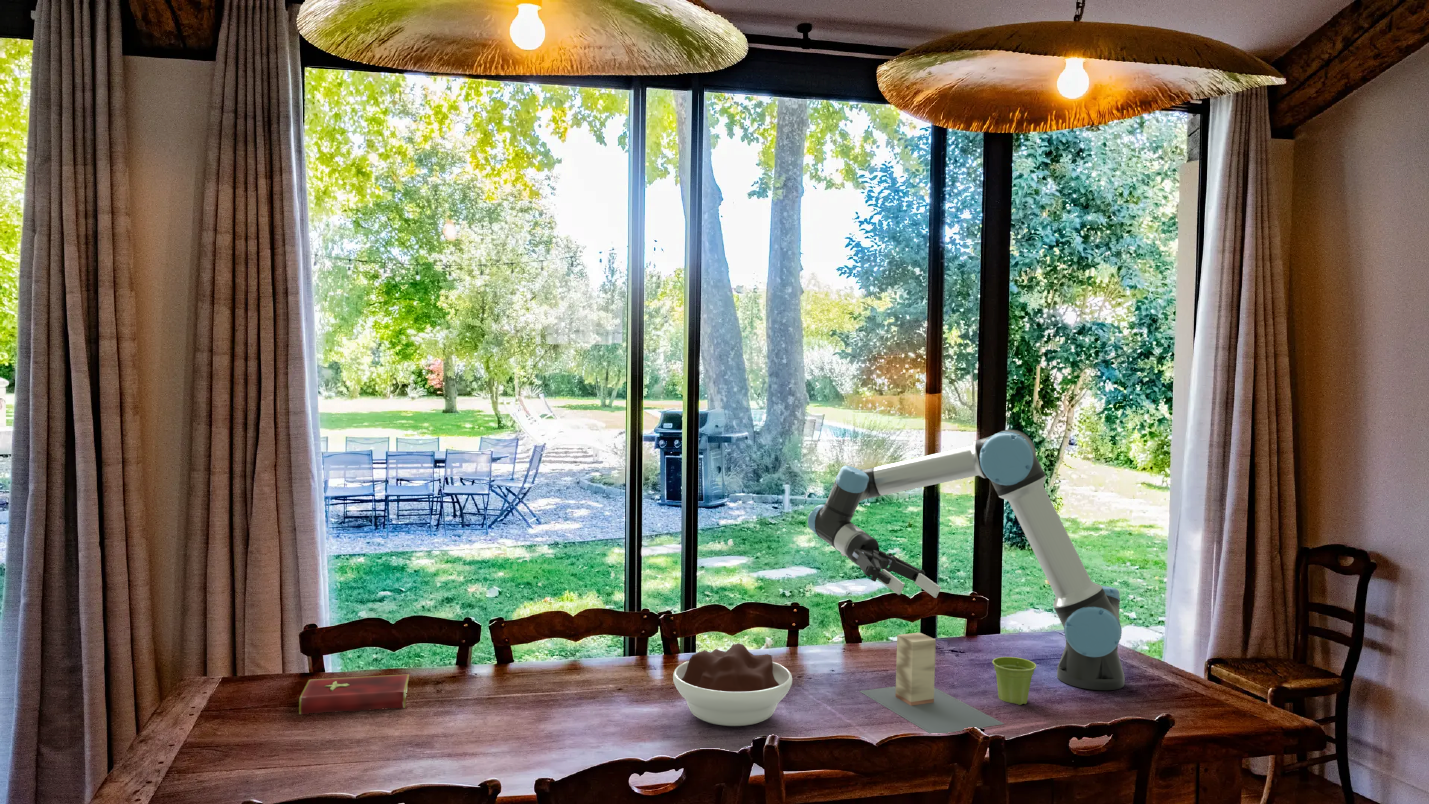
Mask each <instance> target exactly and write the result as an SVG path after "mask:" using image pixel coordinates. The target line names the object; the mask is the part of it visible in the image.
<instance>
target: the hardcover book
mask: <svg viewBox="0 0 1429 804" xmlns="http://www.w3.org/2000/svg"><path fill="white" fill-rule="evenodd" d="M409 679H410V673H409V674H392V675H391V674H389V675H373V676H371V675H369V676H368V675H367V676H354V677H333V678H318V679H317V678H315V679H314V678H313V679H308V680H307V682H306V684H305V686H304V688H303V690H302V691H301V694H300V696H299V699H298V714H299V715H310V714H309V713H315V714H323V713H322V712H332V713H336V712H335V711H349V712H358V711H359V712H361V711H360V710H366V711H374V710H373V709H382V708H384V709H382V710H386V709H385V708H399V709H406V708H405V707H406V698H407V694H406V693H408V684H409ZM369 709H371V710H369Z"/></svg>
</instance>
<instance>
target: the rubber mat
mask: <svg viewBox="0 0 1429 804" xmlns="http://www.w3.org/2000/svg"><path fill="white" fill-rule="evenodd" d="M858 692H859V693H861V694H862V695H865V696H866V697H868V698H870V699H871V700H873V701H874V702H876V703H878V704H879V705H881V706H883V707H885V708H886V709H888V710H890V711H891V712H893V713H895V714H896V715H898V716H899V717H902V718H903V719H905V720H907V721H908V722H910V723H911V724H913V725H915V726H916V727H918V728H920V729H922V730H923V731H924V732H926V733H927V734H930V733H946V734H949V733H948V732H952V733H956V732H955V731H958V732H963V731H962V730H963V729H964V728H968V727H978V728H977V729H982V728H989V727H990V728H991V727H995V726H1000V725H1001V726H1002V725H1005V723H1004V722H1002V721H1000V720H998V719H996V718H994V717H992V716H991V715H989V714H987V713H985V712H983V711H981V710H979V709H977V708H975V707H973V706H971V705H970V704H968V703H966V702H963V701H962V700H960V699H957V698H956V697H954V696H952V695H950V694H948V693H947V692H945V691H942V690H940V689H939V688H936V687H935V686H934V702H933V703H926V704H919V705H912V706H911V705H909V704H907V703H906V702H904V701H902V700H900V699H898V698H897V697H895V695H896V685H895V686H894V685H893V686H889V687H880V688H872V689H863V690H859V691H858Z"/></svg>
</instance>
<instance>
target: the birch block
mask: <svg viewBox="0 0 1429 804" xmlns="http://www.w3.org/2000/svg"><path fill="white" fill-rule="evenodd" d="M936 644H937V642H936V639H935V638H933V637H931V636H929V635H926V634H924V633H922V632H912V633H903V634H902V633H901V634H897V635H896V664H895V686H896V695H895V697H897V698H898V699H900V700H902V701H904V702H906V703H907V704H909V705H911V706H912V705H919V704H926V703H933V702H934V687H935V681H936V680H935V679H936V678H935V676H936V675H935V673H936V671H935V669H936Z"/></svg>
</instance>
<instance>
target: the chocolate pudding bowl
mask: <svg viewBox="0 0 1429 804" xmlns="http://www.w3.org/2000/svg"><path fill="white" fill-rule="evenodd" d="M772 658H773V657H772V655H770V654H768V653H766V654H759V655H755V654H753V653H751V652H750V651H749V650H748V649H747V647H746V646H745V645H744V644H742V643H735V644H734V643H732V645H731V646H730V647H729V649H727V651H722V650H719V649H717V648H715V649H714V650H713V651H711V652H709V651H708V650H706V649H704V650H702V651H698V652H697V653H694V654H692V655H691V656H690V658H689V660H687V661H685V662H683V663H681V664H679V665H678V666H677V667H676V668H675V669H674V672H673V674H672V679H673V680H672V681H673V684H674V687H675V688H676V690H677V691H678V693H679V694H680V695H681V697H682V698H683V699H684V700H685V701H686V704H687V706H688V708H689V711H690V713H691V714H692V715H693V716H695V718H698V719H699V720H701V721H703V722H706V723H709V724H713V725H719V726H727V727H742V726H750V725H756V724H758V723H761V722H764V721H766V720H768V719H770V718H771V717H772V716H773V715H774V713H775V710H776V709H777V707H778V704H779V702H781V701H782V700H783V699H784V698H785V696H786V695H787V694H788V693H789V690H790V688H791V687H792V685H793V676H792V673H791V672H790V670H788V668H786V667H785V666H783V665H782V664H780V663H778V662H775V661H773V659H772Z"/></svg>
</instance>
